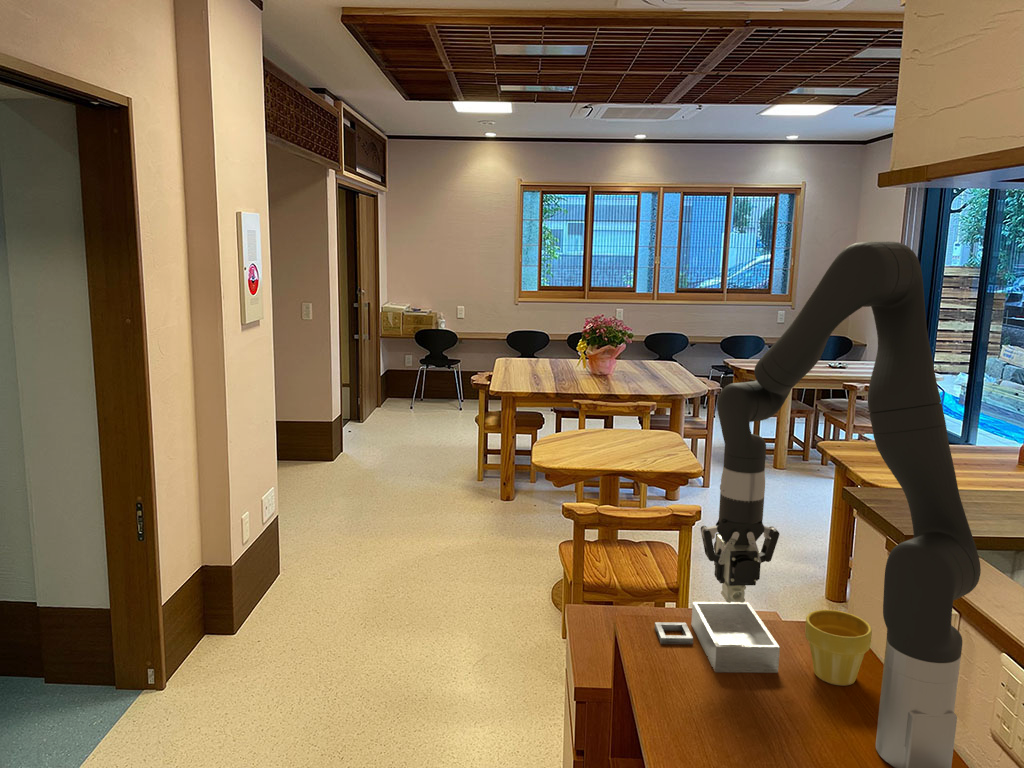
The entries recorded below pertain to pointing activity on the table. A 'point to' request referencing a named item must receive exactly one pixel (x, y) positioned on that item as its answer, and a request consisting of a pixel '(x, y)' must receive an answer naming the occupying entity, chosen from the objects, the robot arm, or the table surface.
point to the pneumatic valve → (738, 570)
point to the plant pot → (837, 644)
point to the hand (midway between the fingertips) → (736, 581)
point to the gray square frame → (673, 639)
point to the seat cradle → (734, 637)
